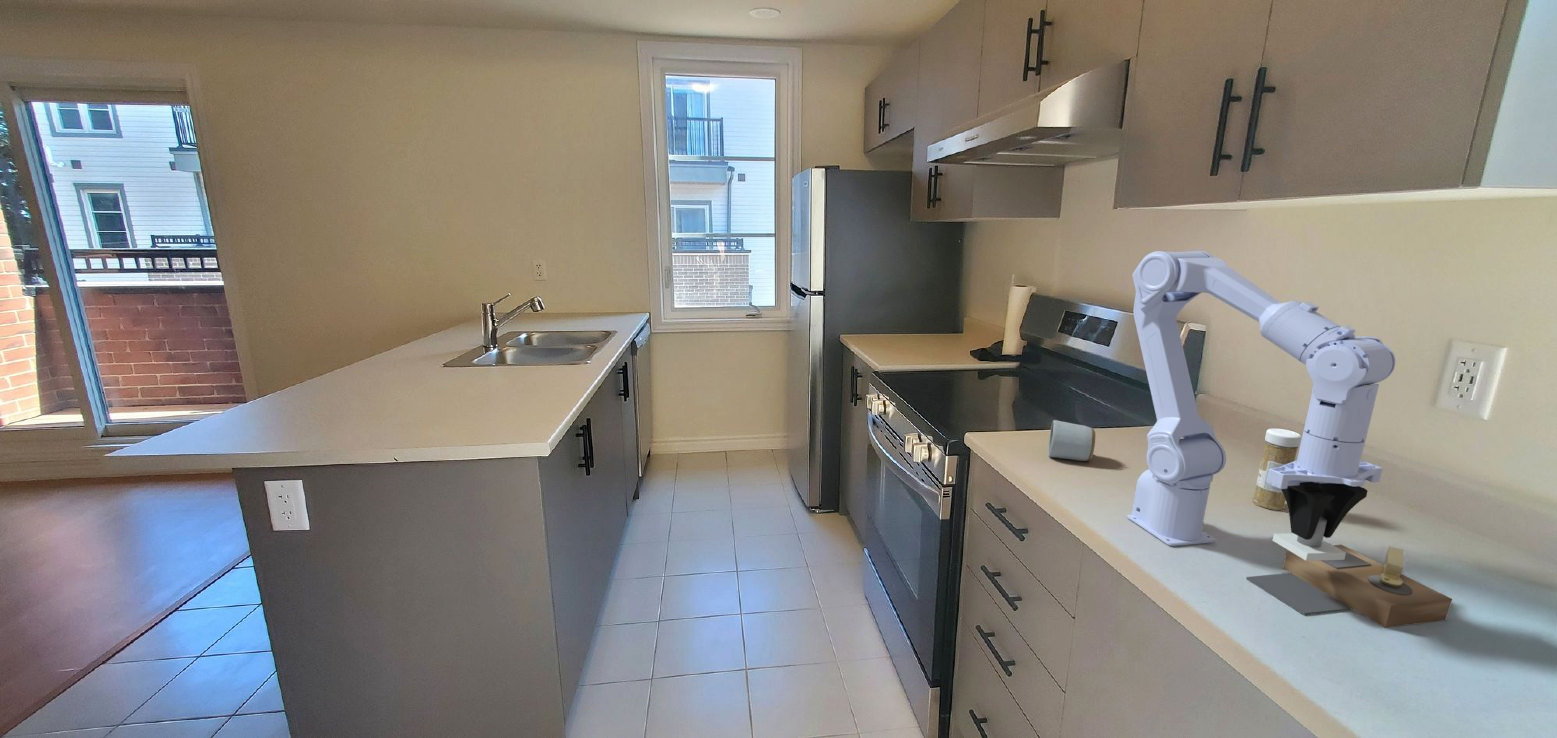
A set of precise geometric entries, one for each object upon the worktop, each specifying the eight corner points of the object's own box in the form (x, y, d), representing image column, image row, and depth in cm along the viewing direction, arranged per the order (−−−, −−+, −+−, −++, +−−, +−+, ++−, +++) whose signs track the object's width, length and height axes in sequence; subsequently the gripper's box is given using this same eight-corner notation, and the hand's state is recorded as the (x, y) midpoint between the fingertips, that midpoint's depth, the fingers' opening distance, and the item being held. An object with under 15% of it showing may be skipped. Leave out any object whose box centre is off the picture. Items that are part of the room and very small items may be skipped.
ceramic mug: (1093, 467, 121) (1098, 430, 120) (1048, 461, 124) (1053, 425, 122) (1087, 450, 131) (1091, 416, 129) (1046, 445, 134) (1049, 411, 132)
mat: (1246, 578, 83) (1246, 576, 83) (1289, 574, 84) (1290, 572, 84) (1303, 615, 76) (1304, 613, 76) (1350, 609, 77) (1351, 607, 77)
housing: (1281, 567, 86) (1285, 547, 85) (1334, 562, 88) (1339, 542, 87) (1385, 627, 74) (1391, 604, 73) (1445, 620, 75) (1452, 597, 74)
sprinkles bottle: (1253, 496, 108) (1268, 425, 105) (1286, 504, 105) (1302, 431, 102) (1250, 505, 105) (1265, 432, 102) (1284, 513, 102) (1300, 438, 99)
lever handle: (1401, 590, 75) (1406, 571, 75) (1378, 583, 77) (1383, 565, 76) (1401, 568, 80) (1406, 550, 80) (1380, 562, 82) (1385, 544, 81)
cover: (1272, 540, 81) (1279, 509, 80) (1308, 539, 81) (1315, 508, 80) (1306, 560, 76) (1313, 527, 75) (1344, 559, 76) (1351, 527, 75)
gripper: (1316, 449, 70) (1292, 555, 73) (1420, 443, 72) (1392, 546, 75) (1260, 429, 77) (1240, 527, 80) (1356, 424, 79) (1333, 519, 82)
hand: (1310, 534), depth 78 cm, fingers closed on cover, 2 cm apart
